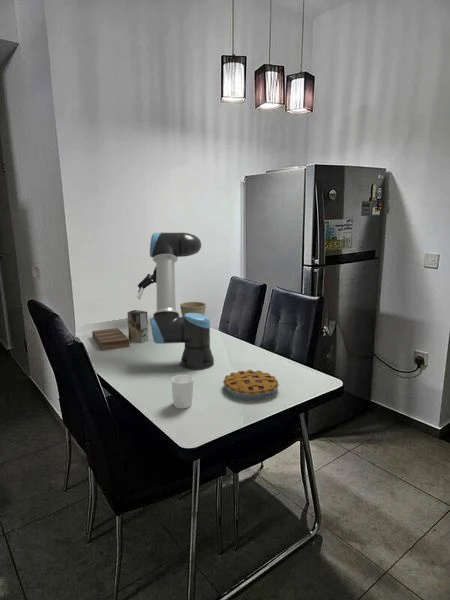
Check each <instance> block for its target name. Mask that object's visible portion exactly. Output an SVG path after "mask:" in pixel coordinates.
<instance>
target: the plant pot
mask: <svg viewBox="0 0 450 600" xmlns="http://www.w3.org/2000/svg"><path fill="white" fill-rule="evenodd" d="M206 305H207V304H206V303H205V302H202V301H201V302H200V301H186V302H182V303H180V304H179V307H180V308H179V309H180V312H181V317H184V315H185V314H186V313H198V314H203V315H205V312H206Z"/></svg>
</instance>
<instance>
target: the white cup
mask: <svg viewBox="0 0 450 600" xmlns="http://www.w3.org/2000/svg"><path fill="white" fill-rule="evenodd" d="M171 391H172V393H171V394H172V400H173V402H172V403H173V407H175V408H177V409H180V410H181V409H183V410H184V409H188V408H190V407H191V406H192V405H193V394H194V377H193V376H191V375H189V374H178V375H174V376H173V377H172V378H171Z"/></svg>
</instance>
